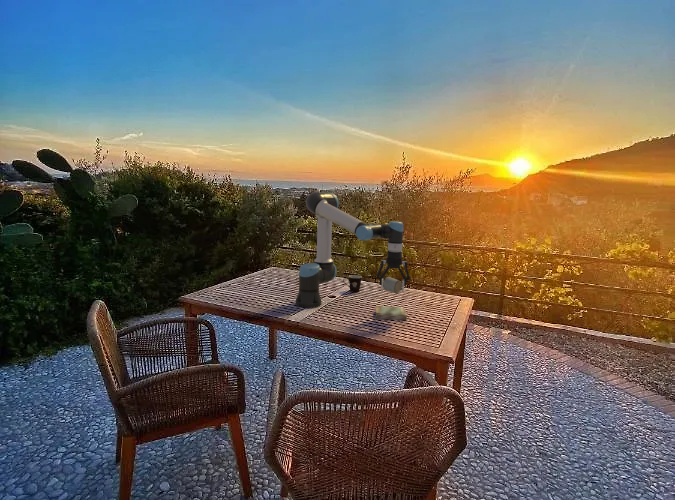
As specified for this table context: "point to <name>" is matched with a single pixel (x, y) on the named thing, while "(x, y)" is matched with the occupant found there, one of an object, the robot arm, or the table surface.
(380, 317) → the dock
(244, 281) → the table surface
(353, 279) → the coffee mug
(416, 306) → the table surface
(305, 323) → the table surface
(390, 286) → the ceramic mug
